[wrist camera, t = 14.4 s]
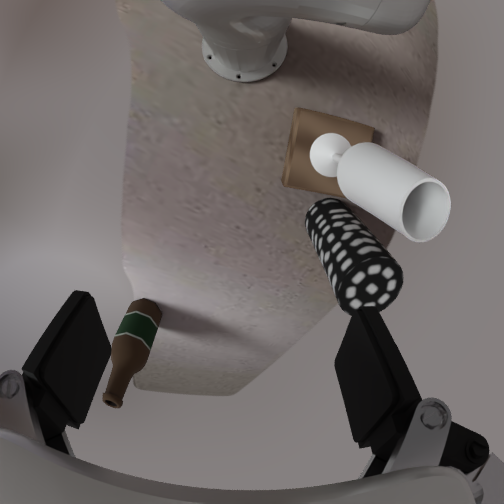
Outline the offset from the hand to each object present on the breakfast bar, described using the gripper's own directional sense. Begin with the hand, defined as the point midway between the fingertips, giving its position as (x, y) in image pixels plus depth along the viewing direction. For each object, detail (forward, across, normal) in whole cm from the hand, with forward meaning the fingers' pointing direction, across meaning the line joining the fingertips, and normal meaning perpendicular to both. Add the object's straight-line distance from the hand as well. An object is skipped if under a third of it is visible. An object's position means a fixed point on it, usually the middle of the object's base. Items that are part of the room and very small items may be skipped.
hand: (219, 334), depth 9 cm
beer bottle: (+36, +19, +32) cm, 52 cm away
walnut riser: (+36, -13, -2) cm, 39 cm away
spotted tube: (+36, -15, +9) cm, 41 cm away
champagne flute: (+32, -13, -2) cm, 35 cm away
